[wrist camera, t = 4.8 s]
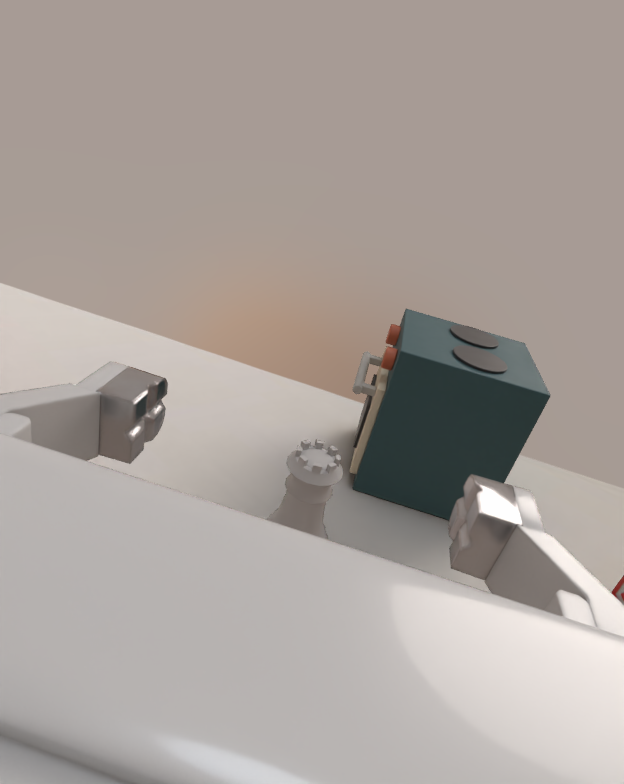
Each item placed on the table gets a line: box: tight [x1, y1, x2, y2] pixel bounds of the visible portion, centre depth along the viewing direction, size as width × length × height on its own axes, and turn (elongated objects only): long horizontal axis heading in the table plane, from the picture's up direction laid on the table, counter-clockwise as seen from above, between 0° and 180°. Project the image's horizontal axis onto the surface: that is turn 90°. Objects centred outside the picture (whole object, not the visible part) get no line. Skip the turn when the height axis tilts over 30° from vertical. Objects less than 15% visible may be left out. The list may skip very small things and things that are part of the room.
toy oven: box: [350, 309, 550, 520], centre depth 40 cm, size 12×10×12 cm
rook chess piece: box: [266, 439, 343, 540], centre depth 30 cm, size 4×4×8 cm
